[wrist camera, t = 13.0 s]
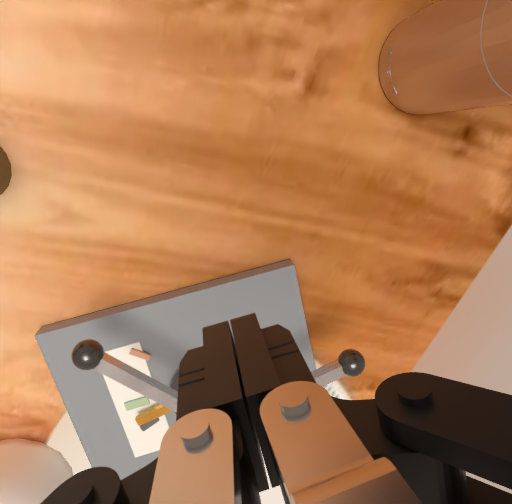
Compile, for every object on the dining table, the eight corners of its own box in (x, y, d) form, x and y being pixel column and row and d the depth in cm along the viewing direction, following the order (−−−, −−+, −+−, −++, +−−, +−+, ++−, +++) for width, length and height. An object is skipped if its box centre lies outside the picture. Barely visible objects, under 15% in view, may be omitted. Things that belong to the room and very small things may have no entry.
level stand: (289, 259, 43) (295, 266, 40) (321, 411, 49) (328, 425, 46) (41, 326, 40) (32, 338, 38) (106, 479, 46) (102, 498, 44)
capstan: (296, 220, 39) (323, 238, 31) (370, 413, 46) (405, 464, 39) (76, 318, 38) (50, 361, 30) (189, 500, 45) (190, 570, 38)
